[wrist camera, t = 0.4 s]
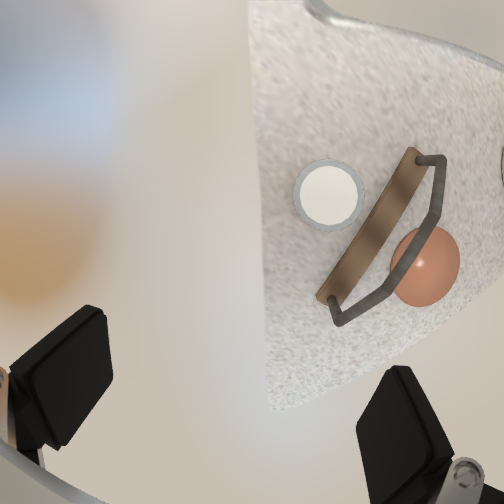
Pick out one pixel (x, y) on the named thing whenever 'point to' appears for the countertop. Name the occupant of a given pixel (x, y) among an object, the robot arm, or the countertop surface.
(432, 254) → the coaster
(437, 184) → the arched handle
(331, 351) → the countertop surface
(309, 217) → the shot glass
